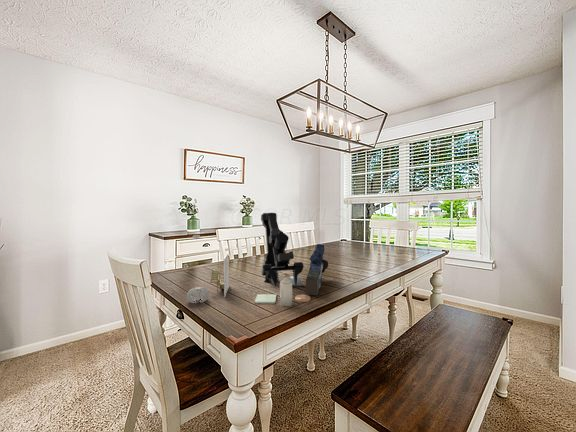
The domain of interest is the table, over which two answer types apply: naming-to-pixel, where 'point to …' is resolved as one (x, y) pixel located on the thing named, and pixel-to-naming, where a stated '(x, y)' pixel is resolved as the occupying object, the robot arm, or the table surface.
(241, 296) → the table surface
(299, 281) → the white rounded cylinder
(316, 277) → the toy
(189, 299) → the pendant light
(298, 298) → the tan disc
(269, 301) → the pad
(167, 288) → the table surface
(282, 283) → the stoneware bottle
